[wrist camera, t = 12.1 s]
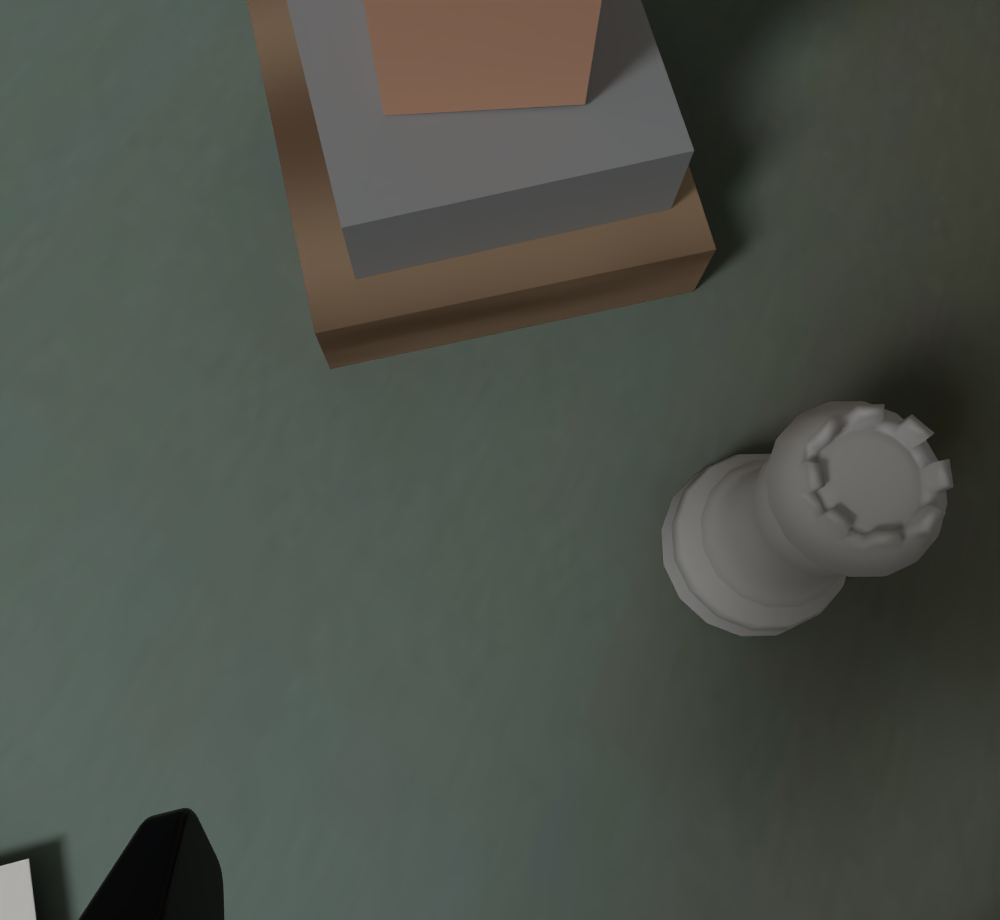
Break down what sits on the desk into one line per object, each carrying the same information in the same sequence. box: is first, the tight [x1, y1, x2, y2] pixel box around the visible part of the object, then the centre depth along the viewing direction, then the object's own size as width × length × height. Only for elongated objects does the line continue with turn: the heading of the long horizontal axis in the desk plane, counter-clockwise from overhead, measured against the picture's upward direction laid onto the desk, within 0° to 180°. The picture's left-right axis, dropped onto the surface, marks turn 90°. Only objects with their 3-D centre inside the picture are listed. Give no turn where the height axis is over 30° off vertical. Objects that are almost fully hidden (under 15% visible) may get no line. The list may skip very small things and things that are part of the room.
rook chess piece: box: [661, 401, 954, 636], centre depth 19 cm, size 4×4×8 cm
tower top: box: [287, 0, 694, 279], centre depth 22 cm, size 8×8×2 cm
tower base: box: [247, 0, 716, 369], centre depth 25 cm, size 10×10×3 cm
